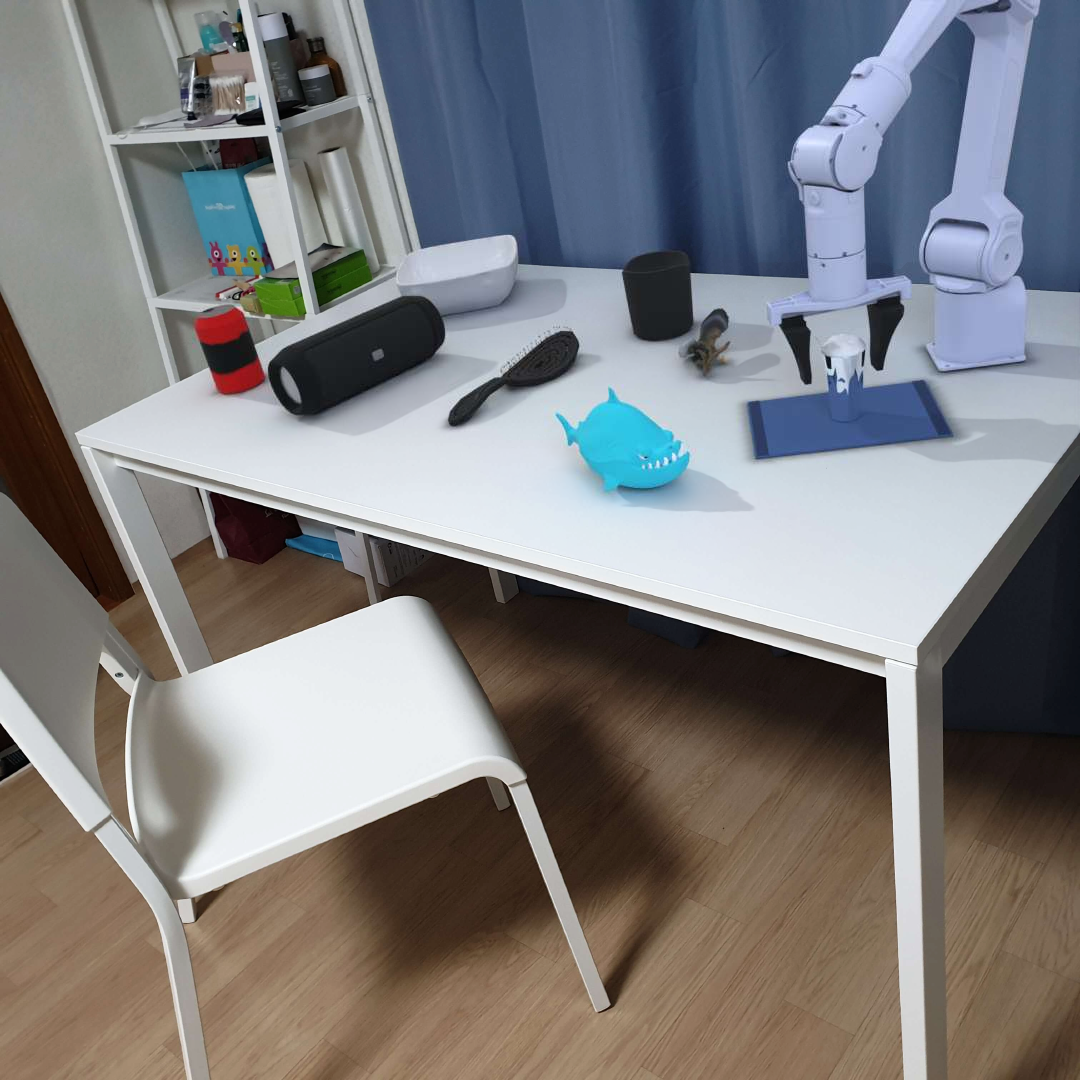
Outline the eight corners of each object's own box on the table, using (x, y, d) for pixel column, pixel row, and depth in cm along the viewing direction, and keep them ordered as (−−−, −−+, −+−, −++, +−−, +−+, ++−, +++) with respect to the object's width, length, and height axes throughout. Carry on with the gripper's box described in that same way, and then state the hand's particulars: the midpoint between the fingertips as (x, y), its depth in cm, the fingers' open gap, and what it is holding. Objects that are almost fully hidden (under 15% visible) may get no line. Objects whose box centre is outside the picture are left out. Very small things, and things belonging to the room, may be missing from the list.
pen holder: (710, 324, 148) (703, 255, 143) (659, 347, 144) (650, 276, 139) (667, 313, 155) (659, 247, 150) (617, 335, 151) (607, 267, 146)
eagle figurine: (750, 362, 130) (743, 325, 137) (714, 325, 127) (709, 289, 134) (701, 397, 134) (697, 359, 141) (666, 362, 131) (663, 325, 138)
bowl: (523, 309, 169) (514, 263, 166) (401, 330, 171) (389, 285, 168) (526, 272, 187) (518, 229, 183) (415, 292, 189) (405, 251, 185)
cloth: (924, 382, 119) (924, 379, 119) (953, 436, 107) (953, 433, 107) (747, 404, 123) (747, 401, 123) (755, 458, 111) (755, 456, 111)
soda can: (244, 373, 168) (219, 301, 162) (275, 376, 163) (250, 303, 157) (208, 392, 163) (180, 319, 157) (238, 396, 158) (212, 321, 152)
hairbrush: (424, 402, 135) (544, 322, 149) (431, 427, 137) (550, 346, 151) (469, 410, 130) (590, 327, 144) (476, 436, 132) (595, 351, 146)
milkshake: (810, 416, 117) (805, 331, 112) (854, 403, 117) (851, 318, 112) (829, 430, 113) (825, 343, 108) (875, 417, 113) (873, 330, 108)
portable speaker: (314, 427, 142) (292, 359, 137) (277, 415, 149) (255, 349, 144) (455, 357, 155) (440, 293, 150) (416, 349, 162) (400, 286, 157)
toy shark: (660, 518, 104) (646, 420, 99) (535, 480, 116) (516, 392, 111) (719, 475, 109) (708, 380, 104) (593, 444, 121) (578, 357, 116)
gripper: (894, 226, 109) (895, 348, 116) (756, 253, 109) (765, 373, 116) (918, 243, 103) (919, 371, 109) (772, 272, 103) (781, 397, 110)
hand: (841, 374), depth 112 cm, fingers open, 7 cm apart
